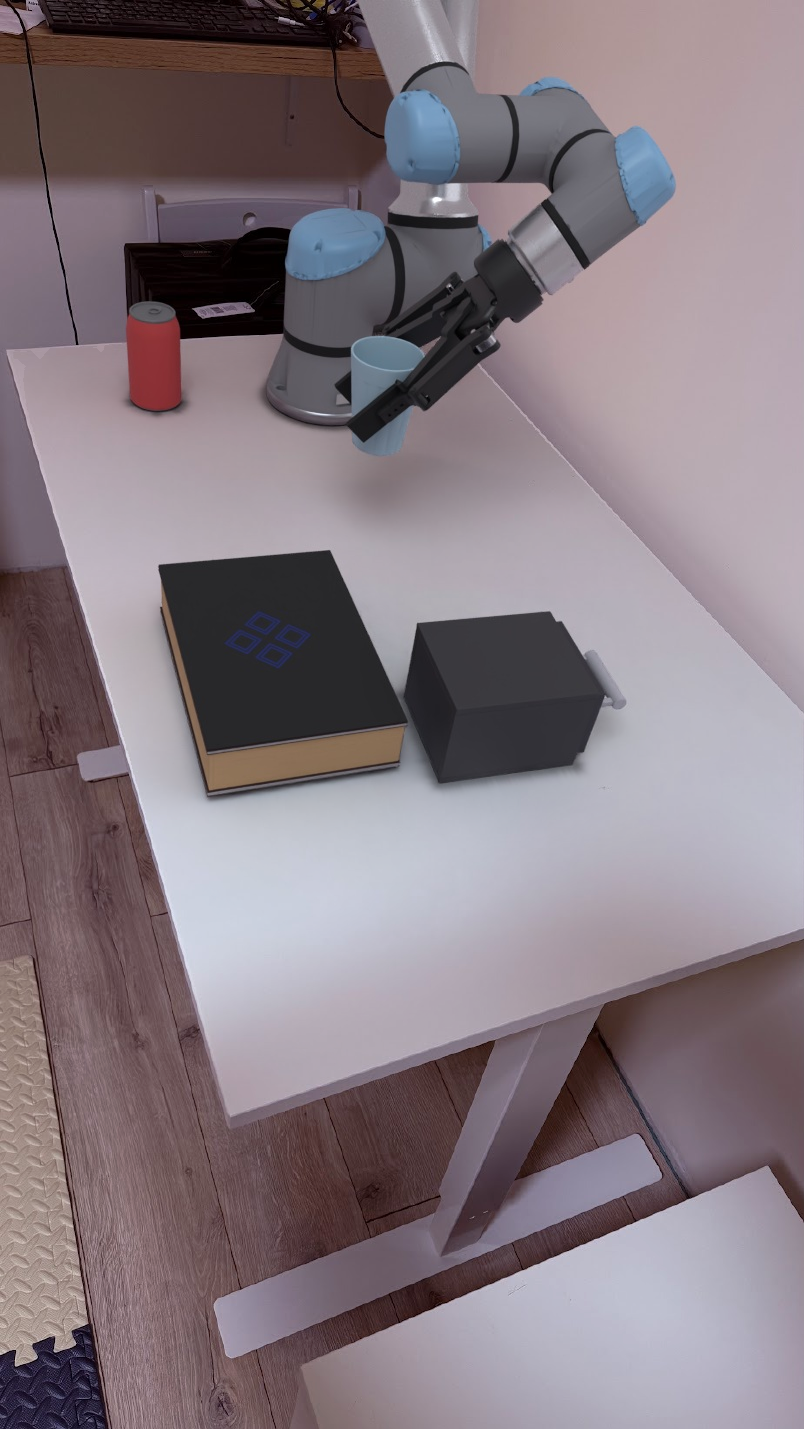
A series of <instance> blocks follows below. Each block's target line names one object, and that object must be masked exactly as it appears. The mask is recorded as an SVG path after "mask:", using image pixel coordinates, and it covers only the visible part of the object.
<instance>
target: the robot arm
mask: <svg viewBox="0 0 804 1429" xmlns="http://www.w3.org/2000/svg"><path fill="white" fill-rule="evenodd" d="M356 1H357V4H358V7H359V10H360V12H361V15H362V18H363V20H364V23H365V25H366V28H367V31H368V34H369V36H370V39H371V42H372V44H373V47H374V50H375V51H376V52H375V53H376V55H377V59H378V60H379V63H380V66H381V68H382V71H383V74H384V76H385V80H386V82H387V84H388V87H389V90H390V93H391V96H392V98H393V99H392V101H391V102H390V104H389V106H388V109H387V112H386V116H385V122H384V134H383V136H384V143H385V145H386V159H387V163H388V165H389V167H390V169H391V171H392V172H393V174H394V175H395V176H396V177H397V178H398V179H400V182H399V183H400V184H399V185H400V186H399V194H398V196H397V198H396V199H395V200H394V201H393V202H392V203H390V205H389V206H388V207H387V225H384V223H383V221H382V219H380V218H379V216H377V215H376V214H373V213H372V212H369V211H366V210H361V209H355V210H352V209H351V208H349V207H338V208H336V207H335V208H326V209H322V210H317V211H314V212H311V213H308V214H307V215H304V216H303V217H301V218H300V219H299V220H298V222H296V223H295V224H294V225H293V226H292V228H291V229H290V233H289V237H288V246H287V253H286V256H285V260H284V265H285V267H284V268H285V287H284V290H285V291H284V307H283V308H284V310H283V330H282V331H283V332H282V339H281V342H280V345H279V347H278V349H277V353H276V355H275V357H274V360H273V362H272V365H271V368H270V370H269V372H268V376H267V380H266V397H267V399H268V401H269V403H270V404H271V405H272V406H273V407H274V408H275V409H276V410H278V411H279V412H280V413H282V414H284V415H286V416H288V417H290V418H292V419H295V420H297V421H301V422H305V423H309V424H312V425H313V424H314V425H322V426H343V425H344V426H345V425H346V426H347V428H348V429H349V430H350V431H351V433H352V432H353V433H354V434H355V435H356V436H357V437H358V438H359V439H360V440H361V441H362V442H363V443H364V442H366V441H367V440H368V439H369V438H371V437H372V436H373V435H374V434H376V433H377V432H378V431H379V430H381V429H382V428H383V427H384V426H386V425H387V424H388V423H389V422H391V421H392V420H394V419H395V418H396V417H397V416H398V415H400V414H401V413H402V412H404V411H405V410H406V409H407V408H409V407H410V406H412V405H413V407H418V408H419V409H420V410H421V411H422V412H427V411H429V409H431V408H432V407H433V406H434V405H435V404H436V403H437V402H438V401H439V400H440V399H441V398H443V397H444V396H445V395H446V394H447V393H448V392H449V391H450V390H451V389H453V387H454V386H455V385H456V384H458V383H459V382H460V381H461V380H462V379H464V377H466V376H467V375H468V374H469V373H470V372H471V371H472V370H473V369H474V368H475V367H476V366H478V365H479V364H480V363H481V362H482V361H483V360H485V359H486V358H488V357H490V356H492V355H493V354H495V353H496V352H497V351H499V350H500V348H501V346H502V345H501V343H500V341H499V340H498V338H497V337H496V335H495V331H496V330H497V329H498V328H499V326H500V325H501V324H502V323H503V322H504V321H505V319H510V321H512V322H513V323H515V324H519V323H521V322H523V320H525V319H526V318H527V317H528V316H530V315H531V314H532V313H533V312H535V311H536V310H537V309H538V308H539V307H541V306H542V305H543V302H544V301H545V299H544V297H543V295H544V294H546V293H547V295H548V296H554V295H555V294H556V293H558V292H559V291H560V290H561V289H562V288H563V287H564V286H566V285H567V284H570V283H572V282H573V281H574V280H575V278H576V277H577V276H578V275H579V274H581V273H582V272H584V271H586V270H587V268H589V267H590V265H592V264H593V263H594V262H596V261H597V260H598V259H599V258H601V257H602V256H603V255H604V254H607V252H609V251H610V250H611V249H612V248H614V247H615V246H616V245H618V244H619V243H621V242H622V241H623V240H624V239H625V238H627V237H628V236H630V235H631V234H632V233H634V232H635V231H636V230H637V229H639V228H640V227H643V226H644V225H646V224H647V221H649V219H651V218H652V217H653V216H654V215H655V214H656V213H657V212H658V211H659V210H660V209H662V208H663V207H664V206H665V205H666V204H667V203H668V202H669V201H670V200H671V199H672V198H673V197H674V195H675V192H676V189H677V183H676V178H675V175H674V172H673V170H672V168H671V166H670V164H669V162H668V160H667V158H666V157H665V155H664V154H663V152H662V150H661V148H660V147H659V145H658V144H657V143H656V141H655V140H654V138H653V137H652V136H651V134H650V133H649V132H648V131H647V130H646V129H645V128H643V127H641V126H640V125H639V126H638V125H633V126H632V127H629V129H627V130H625V132H622V133H619V134H617V136H614V135H613V133H612V132H611V131H610V129H609V128H608V127H607V125H606V124H605V123H604V122H603V120H602V119H601V118H600V117H599V115H598V114H597V113H596V112H595V110H594V109H593V108H592V106H591V105H590V102H588V100H587V99H586V98H585V97H584V95H583V94H581V93H579V92H578V91H577V90H576V89H575V88H574V87H573V86H572V85H571V84H570V83H569V82H567V81H566V80H565V79H562V78H560V77H555V76H546V77H542V78H540V79H539V80H537V81H535V82H533V83H530V84H527V85H526V86H525V87H524V88H523V89H522V90H521V91H520V93H519V94H496V93H479V92H478V91H477V90H476V87H475V78H476V63H477V62H476V61H477V44H478V27H479V12H480V11H479V10H480V0H356ZM487 183H488V184H489V183H490V184H542V185H544V186H545V187H546V189H547V190H548V191H549V193H550V195H548V196H547V197H546V198H545V199H543V200H542V201H541V202H540V203H538V204H537V205H536V206H535V207H534V208H532V210H530V211H529V212H528V213H526V214H525V215H524V216H523V217H522V218H520V219H519V220H518V221H517V222H516V223H514V224H513V225H512V226H511V227H510V228H509V229H508V230H507V235H508V238H506V239H505V240H504V239H503V238H501V239H499V238H497V239H496V240H495V241H494V242H493V240H492V237H491V235H490V233H489V231H488V230H487V228H485V227H484V226H483V225H481V224H480V223H479V214H480V213H479V212H480V211H479V210H478V208H477V207H476V206H475V205H474V202H472V200H471V199H470V197H469V184H487ZM377 333H383V334H384V336H388V337H394V338H398V339H402V340H405V341H408V342H410V343H412V344H414V345H416V346H417V347H418V348H420V349H421V348H422V347H423V346H426V345H428V344H429V343H431V342H434V341H435V340H437V339H438V340H437V341H436V342H435V344H434V345H433V346H432V347H431V348H430V350H428V352H427V353H426V354H425V357H424V358H423V359H422V360H421V361H420V362H419V364H418V365H417V366H416V367H415V368H414V370H413V371H412V372H411V373H410V374H409V375H408V377H407V378H406V379H405V380H404V381H403V382H401V381H400V380H397V379H396V381H395V383H394V384H393V385H392V386H390V387H389V388H388V389H386V390H385V391H384V392H383V393H382V394H380V395H379V396H378V397H377V398H375V399H374V400H373V401H372V402H371V403H369V404H368V405H367V406H366V407H365V408H363V409H362V410H361V411H360V412H358V413H357V414H356V415H355V416H354V417H352V384H351V347H352V345H353V344H354V343H355V342H356V341H357V340H359V339H362V338H365V337H371V336H373V334H377ZM414 384H415V385H414ZM413 385H414V386H413Z"/></svg>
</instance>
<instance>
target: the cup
mask: <svg viewBox="0 0 804 1429" xmlns="http://www.w3.org/2000/svg"><path fill="white" fill-rule="evenodd" d="M425 355H426V354H425V352H424V351H423V350H422V349H421V347H420V348H418V347H417V346H416V345H414V344H412V343H410V342H408V341H405V340H402V339H398V338H394V337H388V336H385V335H372V336H371V337H365V338H362V339H359V340H357V341H356V342H355V343H354V344H353V345H352V347H351V384H352V417H354V416H355V415H356V414H357V413H358V412H360V411H361V410H362V409H363V408H365V407H366V406H367V405H368V404H369V403H371V402H372V401H373V400H374V399H375V398H377V397H378V396H379V395H380V394H382V393H383V392H384V391H385V390H386V389H388V388H389V387H390V386H392V385H393V384H394V383H395V381H396V379H397V380H400V381H401V382H403V381H404V380H405V379H406V378H407V377H408V375H409V374H410V373H411V372H412V371H413V370H414V368H415V367H416V366H417V365H418V364H419V362H420V361H421V360H422V359H423V358H424V357H425ZM414 385H415V384H414ZM414 385H413V386H414ZM413 408H414V405H412V406H410V407H409V408H407V409H406V410H405V411H404V412H402V413H401V414H400V415H398V416H397V417H396V418H395V419H394V420H392V421H391V422H389V423H388V424H387V425H386V426H384V427H383V428H382V429H381V430H379V431H378V432H377V433H376V434H374V435H373V436H372V437H371V438H369V439H368V440H367V441H366V442H364V443H363V442H362V441H361V440H360V439H359V438H358V437H357V436H356V435H355V434H354V433H353V432H352V431H351V440H352V444H353V446H354V447H355V448H356V449H357V450H359V451H360V452H362V453H365V454H367V455H371V456H377V457H387V456H392V455H395V454H397V453H398V452H399V451H400V450H401V449H402V447H403V445H404V444H403V443H404V440H405V436H406V433H407V429H408V426H409V423H410V422H409V421H410V419H411V414H412V411H413Z"/></svg>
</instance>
